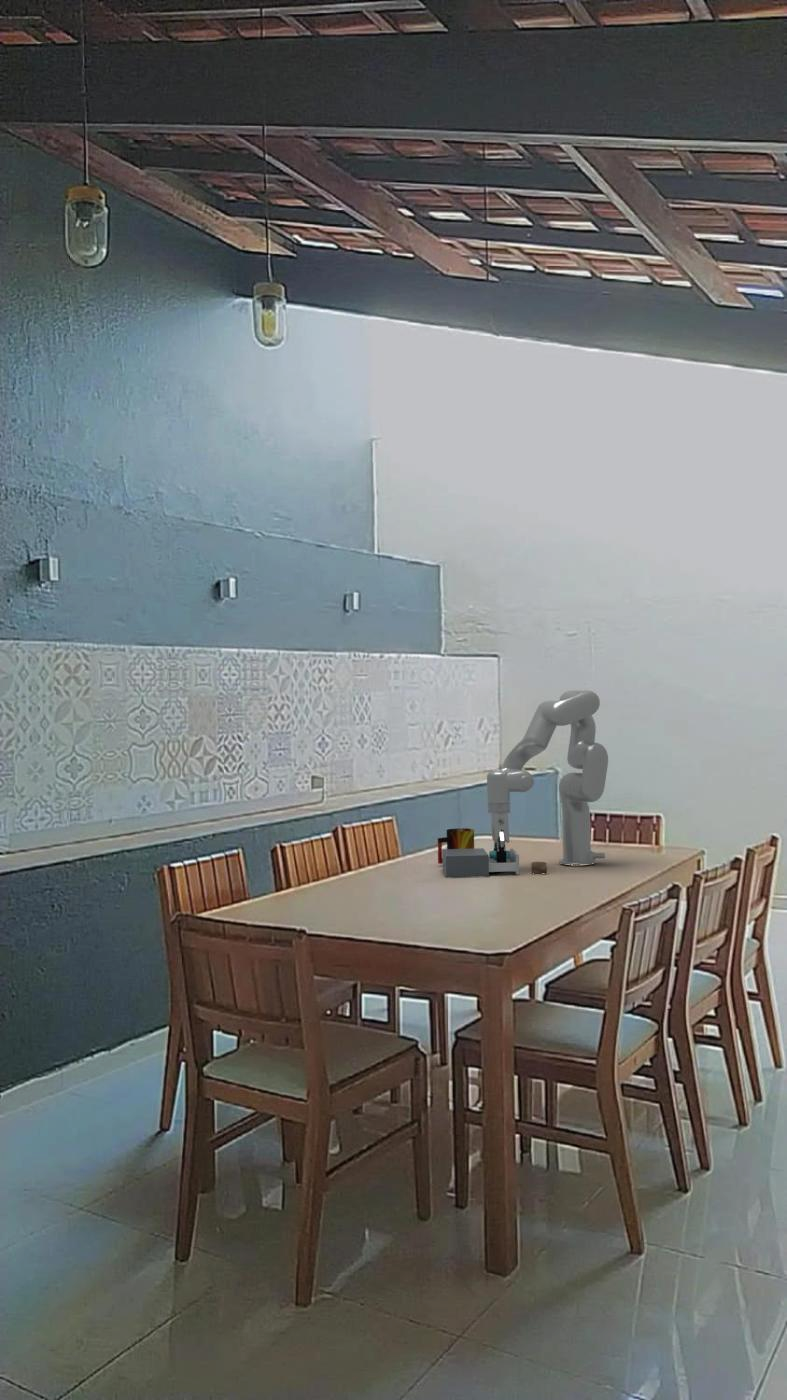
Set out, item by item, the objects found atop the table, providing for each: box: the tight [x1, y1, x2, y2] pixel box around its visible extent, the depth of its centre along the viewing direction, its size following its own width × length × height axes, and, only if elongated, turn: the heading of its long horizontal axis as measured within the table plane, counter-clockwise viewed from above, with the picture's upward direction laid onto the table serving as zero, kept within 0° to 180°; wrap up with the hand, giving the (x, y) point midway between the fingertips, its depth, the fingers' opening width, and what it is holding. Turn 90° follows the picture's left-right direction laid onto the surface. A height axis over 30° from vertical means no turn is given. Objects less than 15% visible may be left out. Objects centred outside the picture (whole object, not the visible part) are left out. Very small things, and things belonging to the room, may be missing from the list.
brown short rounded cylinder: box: [530, 861, 548, 875], centre depth 383 cm, size 5×5×4 cm
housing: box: [442, 847, 490, 878], centre depth 388 cm, size 14×17×7 cm
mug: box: [437, 827, 475, 865], centre depth 407 cm, size 10×14×12 cm
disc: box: [488, 849, 510, 859], centre depth 388 cm, size 7×7×2 cm
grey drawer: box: [489, 848, 520, 875], centre depth 388 cm, size 13×15×6 cm
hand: (500, 861), depth 388 cm, fingers closed on disc, 6 cm apart
